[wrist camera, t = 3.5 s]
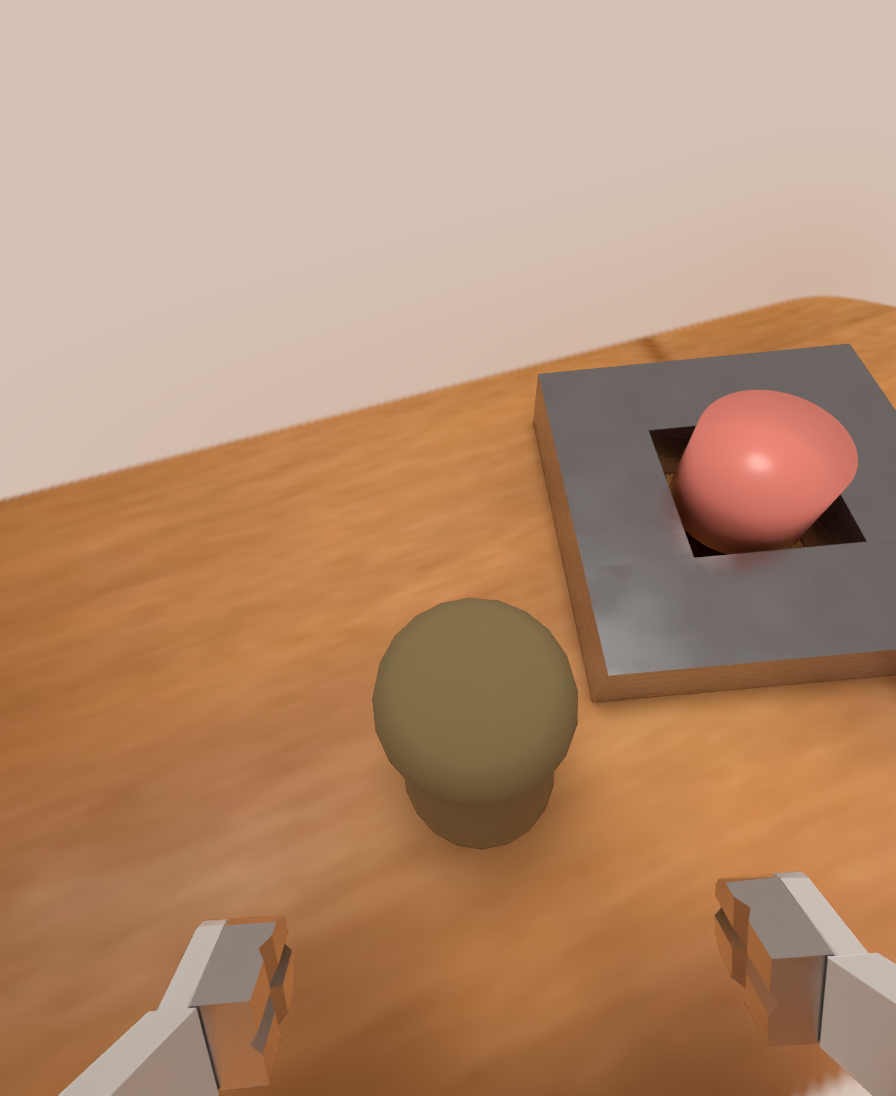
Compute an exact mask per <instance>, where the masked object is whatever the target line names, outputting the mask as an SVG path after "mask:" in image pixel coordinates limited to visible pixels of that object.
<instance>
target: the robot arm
mask: <svg viewBox="0 0 896 1096" xmlns="http://www.w3.org/2000/svg"><path fill="white" fill-rule="evenodd" d="M715 896H716V898H717V900H718V902H719V903H720V905H721V909H720V910H719V911H718V912H717V914H716V915H715V933H716V938H717V942H718V947H719V950H720V953H721V955H722V958H723V961H724V963H725V965H726V967H727V969H728V971H729V973H730V975H731V977H732V978H733V979H734V980H736V981H737V982H738V983H739V984H741V985H742V986H743V987H744V988H745V1005H746V1007H747V1009H748V1011H749V1012H750V1014H751V1016H752V1018H753V1020H754V1022H755V1024H756V1026H757V1028H758V1030H759V1032H760V1034H761V1036H762V1038H763V1040H764V1041H765V1043H766V1045H767V1046H780V1045H803V1044H820V1048H821V1049H822V1050H824V1051H825V1052H826V1053H827V1054H828V1055H829V1056H830V1057H831V1058H832V1059H833V1060H834V1061H835V1062H837V1063H838V1064H839V1065H840V1066H841V1067H842V1068H843V1069H844V1070H845V1071H846V1072H847V1073H849V1074H850V1075H851V1076H852V1077H853V1078H854V1079H855V1080H856V1081H857V1082H858V1083H859V1084H861V1085H862V1086H863V1087H864V1088H865V1089H866V1090H867V1091H868V1092H870V1094H871V1095H873V1096H896V964H895V963H893V962H892V961H890V960H889V959H887V958H885V957H884V956H882V955H881V954H879V953H868V952H867V950H866V949H865V948H864V947H863V945H862V944H861V943H860V942H859V940H858V939H857V938H856V937H855V935H854V934H853V933H852V932H851V930H850V929H849V928H848V927H847V925H846V924H845V923H844V922H843V920H842V919H841V918H840V917H839V915H838V914H837V913H836V912H835V910H834V909H833V908H832V907H831V905H830V904H829V903H828V901H827V900H826V899H825V898H824V896H823V895H822V894H821V893H820V891H819V890H818V889H817V888H816V886H815V885H814V884H813V883H812V881H811V880H810V879H809V878H808V876H807V875H805V874H804V873H802V872H801V871H798V872H787V873H776V874H772V875H771V874H764V875H754V876H743V877H733V878H722V879H718V881H717V883H716V892H715ZM287 934H288V928H287V924H286V920H285V917H282V916H271V917H252V918H234V919H224V920H207V921H203V922H202V923H201V924H200V925H199V926H198V928H197V929H196V931H195V933H194V935H193V937H192V939H191V941H190V943H189V945H188V947H187V949H186V951H185V953H184V955H183V957H182V959H181V961H180V963H179V966H178V968H177V970H176V972H175V974H174V976H173V978H172V980H171V982H170V984H169V986H168V988H167V990H166V992H165V994H164V996H163V998H162V1001H161V1003H160V1005H159V1007H158V1009H157V1011H148V1012H147V1013H146V1014H145V1015H144V1016H143V1017H142V1018H141V1019H140V1020H139V1021H138V1022H136V1023H135V1024H134V1025H133V1026H132V1027H131V1028H130V1029H129V1030H128V1031H127V1032H126V1033H125V1034H124V1035H122V1036H121V1037H120V1038H119V1039H118V1040H117V1041H116V1042H115V1043H114V1044H113V1045H112V1046H111V1047H110V1048H108V1049H107V1050H106V1051H105V1052H104V1053H103V1054H102V1055H101V1056H100V1057H99V1058H98V1059H97V1060H96V1061H94V1062H93V1063H92V1064H91V1065H90V1066H89V1067H88V1068H87V1069H86V1070H85V1071H84V1072H83V1073H82V1074H80V1075H79V1076H78V1077H77V1078H76V1079H75V1080H74V1081H73V1082H72V1083H71V1084H70V1085H69V1086H68V1087H66V1088H65V1089H64V1090H63V1091H62V1092H61V1093H60V1094H59V1095H58V1096H218V1095H219V1092H218V1091H221V1090H230V1089H239V1088H247V1087H256V1086H265V1085H269V1084H270V1080H271V1076H272V1073H273V1069H274V1065H275V1061H276V1058H277V1054H278V1050H279V1046H280V1042H281V1038H280V1033H279V1029H278V1024H279V1023H280V1022H281V1021H282V1020H283V1018H284V1017H285V1016H286V1015H287V1014H288V1012H289V1008H290V1004H291V999H292V995H293V987H294V977H295V970H294V958H293V952H292V950H291V949H290V948H289V947H288V946H287V945H285V941H286V937H287Z"/></svg>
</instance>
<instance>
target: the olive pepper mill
mask: <svg viewBox="0 0 896 1096" xmlns="http://www.w3.org/2000/svg"><path fill="white" fill-rule="evenodd" d="M372 701H373V710H374V719H375V728H376V733H377V735H378V737H379V740H380V742H381V744H382V746H383V748H384V751H385V753H386V755H387V757H388V759H389V761H390V763H391V764H392V765H393V766H394V767H395V768H396V769H397V770H398V771H399V772H400V773H401V775H402V776H403V777H404V778H405V782H406V789H407V793H408V795H409V797H410V799H411V801H412V804H413V806H414V808H415V810H416V812H417V814H418V815H419V816H420V818H421V819H422V820H423V821H424V822H425V823H426V824H427V825H428V826H429V827H430V828H431V830H432V831H433V832H434V833H435V834H437V835H439V836H441V837H443V838H445V839H447V840H448V841H450V842H452V843H454V844H456V845H458V846H465V847H471V848H478V849H486V848H491V847H495V846H500V845H505V844H508V843H510V842H511V841H513V840H514V839H516V838H518V837H519V836H521V835H522V834H524V833H526V832H527V831H529V830H530V828H531V827H532V826H533V825H534V823H535V822H536V821H537V819H538V818H539V817H540V816H541V814H542V813H543V812H544V811H545V808H546V805H547V802H548V800H549V797H550V794H551V791H552V788H553V779H554V770H555V769H556V768H557V767H558V766H559V764H560V763H561V762H562V761H563V759H564V758H565V757H566V755H567V752H568V749H569V746H570V743H571V741H572V738H573V735H574V732H575V729H576V726H577V712H578V690H577V687H576V684H575V681H574V677H573V674H572V671H571V668H570V664H569V661H568V658H567V655H566V654H565V652H564V651H563V649H562V648H561V647H560V645H559V644H558V642H557V641H556V639H555V638H554V636H553V635H552V634H551V632H550V631H549V630H548V629H547V628H546V627H545V626H543V625H542V624H541V623H540V622H538V621H537V620H536V619H534V618H533V617H532V616H531V615H529V614H528V613H527V612H526V611H523V610H521V609H518V608H516V607H513V606H511V605H508V604H506V603H503V602H501V601H497V600H487V599H476V598H466V599H461V600H456V601H450V602H445V603H441V604H439V605H437V606H435V607H433V608H431V609H429V610H427V611H425V612H423V613H421V614H419V615H417V616H415V617H414V618H413V619H412V620H411V621H410V622H409V623H408V624H407V625H406V626H405V627H404V628H403V629H402V630H401V631H400V632H399V633H398V634H397V635H396V636H395V637H394V638H393V640H392V642H391V644H390V646H389V647H388V649H387V651H386V653H385V655H384V656H383V658H382V660H381V662H380V665H379V669H378V674H377V679H376V684H375V689H374V694H373V698H372Z"/></svg>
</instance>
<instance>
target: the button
mask: <svg viewBox="0 0 896 1096" xmlns="http://www.w3.org/2000/svg"><path fill="white" fill-rule="evenodd" d="M857 467H858V455H857V450H856V447H855V444H854V442H853V440H852V438H851V436H850V434H849V433H848V431H847V430H846V429H845V428H844V426H843V425H842V424H841V423H840V422H839V421H838V420H837V419H836V418H835V417H833V416H832V415H831V414H830V413H828V412H827V411H825V410H824V409H822V408H821V407H819V406H817V405H816V404H814V403H812V402H809V401H807V400H805V399H802V398H800V397H797V396H794V395H791V394H787V393H783V392H778V391H770V390H746V391H739V392H735V393H732V394H729V395H726V396H723V397H721V398H720V399H718V400H716V401H715V402H713V403H712V404H710V405H709V406H708V407H707V408H706V409H705V411H704V412H703V414H702V415H701V417H700V419H699V421H698V423H697V426H696V428H695V430H694V432H693V434H692V436H691V438H690V441H689V443H688V445H687V447H686V449H685V451H684V454H683V456H682V458H681V460H680V462H679V464H678V466H677V469H676V471H675V473H674V475H673V477H672V479H671V482H670V486H669V489H670V492H671V495H672V497H673V500H674V503H675V506H676V509H677V511H678V514H679V517H680V520H681V523H682V525H683V528H684V529H685V530H686V531H687V532H688V533H689V534H690V535H691V536H692V537H694V538H695V539H696V540H697V541H699V542H701V543H702V544H704V545H705V546H707V547H709V548H711V549H713V550H716V551H718V552H721V553H724V554H728V555H730V554H741V553H752V552H762V551H773V550H784V549H788V548H790V547H791V546H792V545H793V544H795V543H796V542H797V541H798V540H799V538H800V537H801V536H802V535H803V534H804V533H805V532H806V531H807V530H808V529H809V528H810V527H811V525H812V524H813V523H814V522H815V521H816V520H817V519H818V518H819V517H820V516H821V515H822V513H823V512H824V511H825V510H826V509H827V508H828V507H829V506H830V505H831V504H832V503H833V502H834V500H835V499H836V498H837V497H838V496H839V495H840V494H841V493H842V492H843V491H844V490H845V489H846V487H847V486H848V485H849V484H850V483H851V481H852V480H853V478H854V476H855V474H856V471H857Z"/></svg>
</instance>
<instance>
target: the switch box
mask: <svg viewBox="0 0 896 1096" xmlns="http://www.w3.org/2000/svg"><path fill="white" fill-rule="evenodd" d="M746 390H770V391H778V392H783V393H787V394H791V395H794V396H797V397H800V398H802V399H805V400H807V401H809V402H812V403H814V404H816V405H817V406H819V407H821V408H822V409H824V410H825V411H827V412H828V413H830V414H831V415H832V416H833V417H835V418H836V419H837V420H838V421H839V422H840V423H841V424H842V425H843V426H844V428H845V429H846V430H847V431H848V433H849V434H850V436H851V438H852V440H853V442H854V444H855V447H856V450H857V455H858V467H857V471H856V474H855V476H854V478H853V480H852V481H851V483H850V484H849V485H848V486H847V487H846V489H845V490H844V491H843V492H842V493H841V494H840V495H839V496H838V497H837V498H836V499H835V500H834V502H833V503H832V504H831V505H830V506H829V507H828V508H827V509H826V510H825V511H824V512H823V513H822V515H821V516H820V517H819V518H818V519H817V520H816V521H815V522H814V523H813V524H812V525H811V527H810V528H809V529H808V530H807V531H806V532H805V533H804V534H803V535H802V536H801V537H800V538H801V540H802V542H803V544H804V546H805V548H794V549H784V550H773V551H762V552H752V553H741V554H730V555H719V556H709V557H698V558H694V556H693V553H692V551H691V548H690V545H689V542H688V539H687V537H686V534H685V531H684V528H683V525H682V523H681V520H680V517H679V514H678V511H677V509H676V506H675V503H674V500H673V497H672V495H671V492H670V489H669V486H668V483H667V481H666V478H665V475H664V474H666V473H675V471H676V469H677V466H678V464H679V462H680V460H681V458H682V456H683V454H684V451H685V449H686V447H687V445H688V443H689V441H690V438H691V436H692V434H693V432H694V430H695V428H696V426H697V423H698V421H699V419H700V417H701V415H702V414H703V412H704V411H705V409H706V408H707V407H708V406H709V405H710V404H712V403H713V402H715V401H716V400H718V399H720V398H721V397H723V396H726V395H729V394H732V393H735V392H739V391H746ZM533 424H534V429H535V433H536V438H537V443H538V447H539V452H540V457H541V462H542V466H543V471H544V476H545V481H546V485H547V490H548V495H549V499H550V504H551V509H552V514H553V518H554V523H555V528H556V533H557V537H558V542H559V547H560V551H561V556H562V561H563V566H564V570H565V575H566V580H567V585H568V589H569V594H570V599H571V603H572V608H573V613H574V618H575V622H576V627H577V632H578V637H579V641H580V646H581V651H582V655H583V660H584V665H585V670H586V674H587V679H588V684H589V689H590V693H591V698H592V702H601V701H612V700H623V699H634V698H645V697H656V696H667V695H678V694H689V693H700V692H711V691H722V690H733V689H744V688H755V687H766V686H777V685H788V684H799V683H810V682H821V681H832V680H843V679H854V678H865V677H876V676H887V675H896V410H895V409H894V407H893V406H892V404H891V403H890V402H889V400H888V399H887V397H886V396H885V394H884V393H883V391H882V390H881V388H880V387H879V386H878V384H877V383H876V381H875V380H874V378H873V377H872V375H871V374H870V373H869V371H868V370H867V368H866V367H865V365H864V364H863V362H862V361H861V359H860V358H859V357H858V355H857V354H856V352H855V351H854V349H853V348H852V346H851V345H850V344H842V345H832V346H822V347H811V348H801V349H791V350H780V351H770V352H760V353H750V354H739V355H729V356H719V357H708V358H698V359H688V360H678V361H667V362H657V363H647V364H636V365H626V366H616V367H606V368H595V369H585V370H575V371H564V372H554V373H544V374H538V381H537V391H536V400H535V410H534V419H533Z"/></svg>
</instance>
